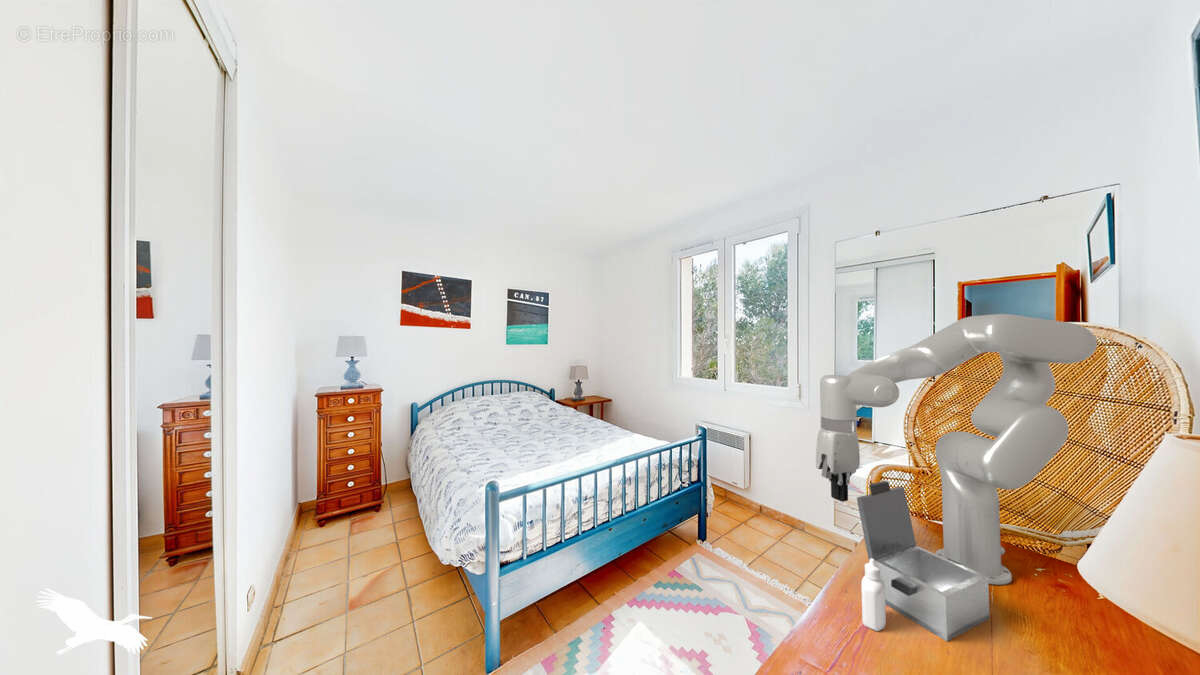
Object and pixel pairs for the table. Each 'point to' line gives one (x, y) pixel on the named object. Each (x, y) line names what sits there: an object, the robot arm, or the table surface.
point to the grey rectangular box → (934, 591)
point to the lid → (885, 520)
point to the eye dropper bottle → (873, 597)
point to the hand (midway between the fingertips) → (839, 499)
